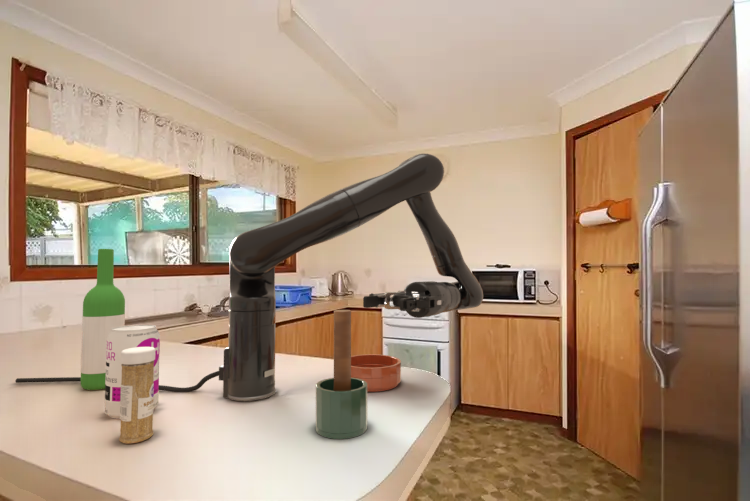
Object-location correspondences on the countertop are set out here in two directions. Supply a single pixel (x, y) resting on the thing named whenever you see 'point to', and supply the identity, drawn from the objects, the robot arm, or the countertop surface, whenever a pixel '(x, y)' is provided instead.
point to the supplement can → (115, 345)
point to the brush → (342, 350)
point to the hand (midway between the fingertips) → (382, 303)
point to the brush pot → (341, 409)
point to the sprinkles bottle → (137, 394)
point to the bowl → (376, 371)
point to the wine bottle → (100, 322)
